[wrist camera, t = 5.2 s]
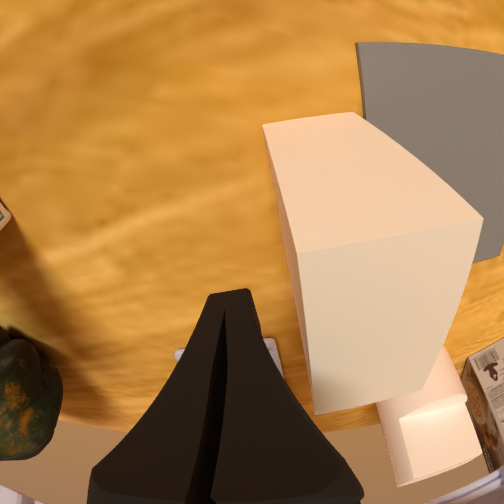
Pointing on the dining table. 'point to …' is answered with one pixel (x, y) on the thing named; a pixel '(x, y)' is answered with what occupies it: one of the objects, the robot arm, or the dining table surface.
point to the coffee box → (487, 400)
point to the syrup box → (4, 216)
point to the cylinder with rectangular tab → (429, 426)
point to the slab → (367, 256)
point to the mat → (444, 119)
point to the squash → (26, 399)
